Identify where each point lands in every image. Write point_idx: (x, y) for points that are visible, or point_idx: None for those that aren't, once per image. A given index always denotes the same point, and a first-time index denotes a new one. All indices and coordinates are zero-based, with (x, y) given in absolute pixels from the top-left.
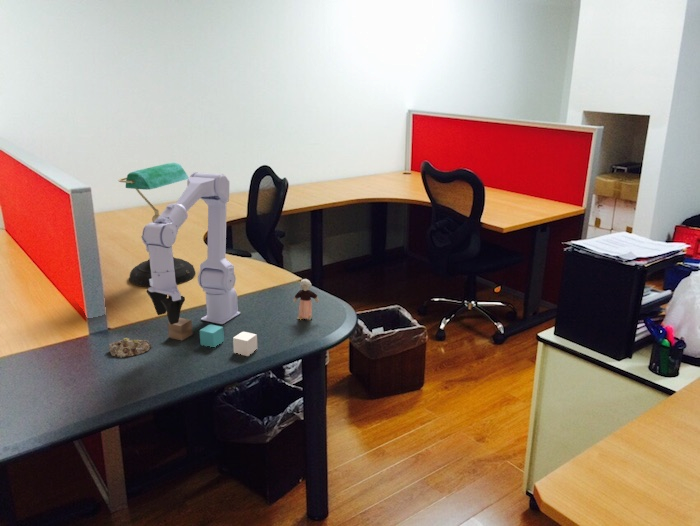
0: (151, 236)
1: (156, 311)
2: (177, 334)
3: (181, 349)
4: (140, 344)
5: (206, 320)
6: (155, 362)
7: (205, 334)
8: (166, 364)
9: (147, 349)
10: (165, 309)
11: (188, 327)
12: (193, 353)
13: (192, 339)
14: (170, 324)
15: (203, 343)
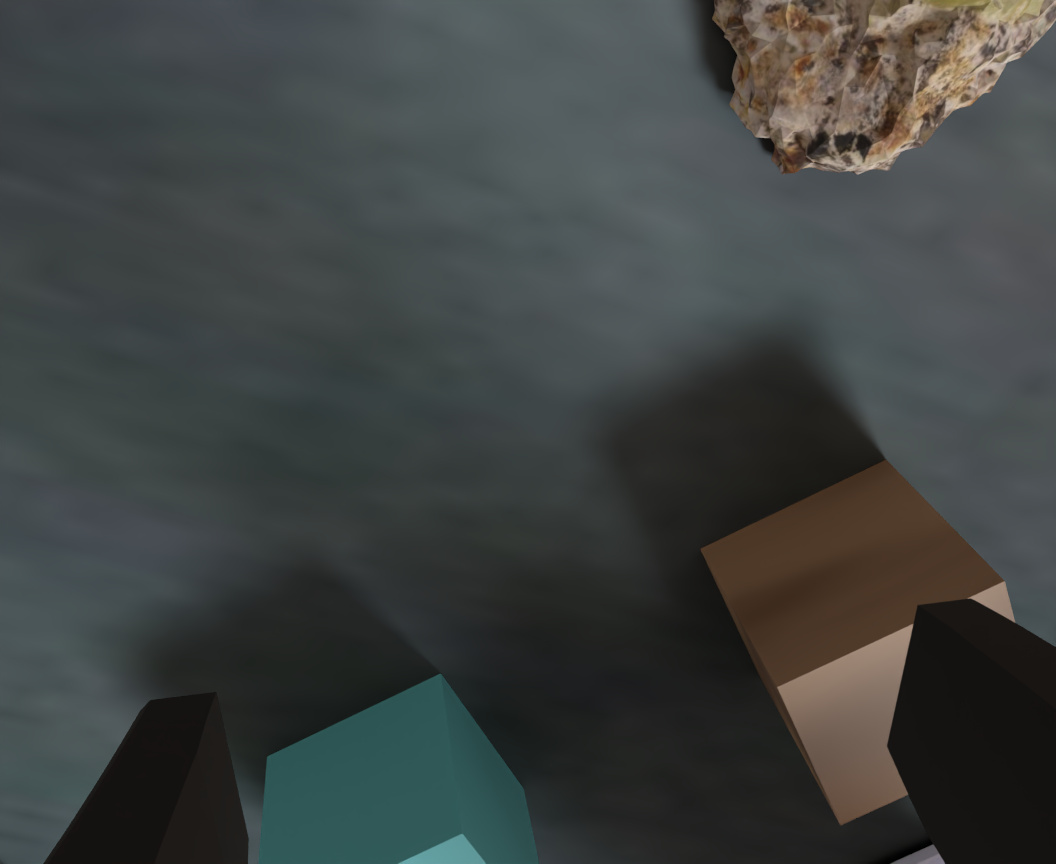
0: None
1: (1021, 645)
2: (786, 562)
3: (468, 473)
4: (867, 20)
5: (921, 856)
6: (279, 35)
7: (370, 838)
8: (114, 153)
9: (736, 88)
10: (938, 829)
11: (788, 722)
12: (263, 552)
13: (640, 644)
14: (952, 594)
15: (401, 713)
